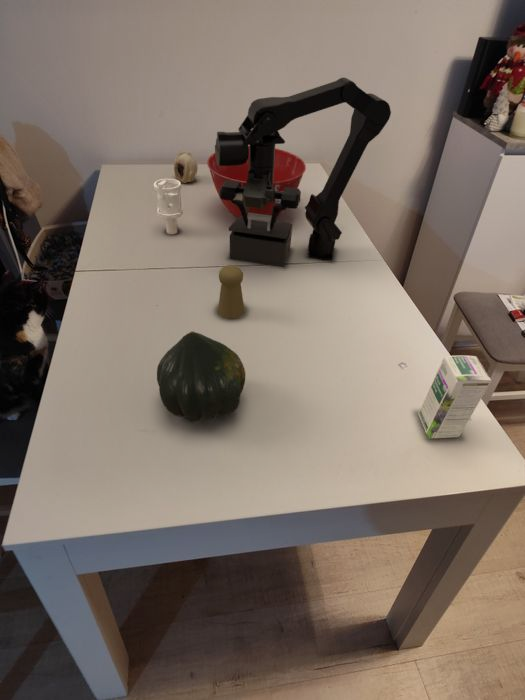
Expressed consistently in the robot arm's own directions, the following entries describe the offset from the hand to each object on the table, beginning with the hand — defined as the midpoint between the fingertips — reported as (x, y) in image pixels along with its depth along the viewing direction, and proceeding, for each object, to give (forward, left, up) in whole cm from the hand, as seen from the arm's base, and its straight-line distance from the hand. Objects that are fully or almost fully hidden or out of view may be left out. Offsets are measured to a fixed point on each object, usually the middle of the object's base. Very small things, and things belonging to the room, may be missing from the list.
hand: (259, 227), depth 111 cm
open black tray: (0, -3, -9) cm, 10 cm away
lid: (0, -3, -2) cm, 3 cm away
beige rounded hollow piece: (+36, -45, -5) cm, 57 cm away
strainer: (+27, -8, -10) cm, 30 cm away
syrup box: (-43, +46, -10) cm, 63 cm away
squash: (-1, +51, -10) cm, 52 cm away
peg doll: (+1, +23, -10) cm, 25 cm away
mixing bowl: (+7, -27, -10) cm, 30 cm away
